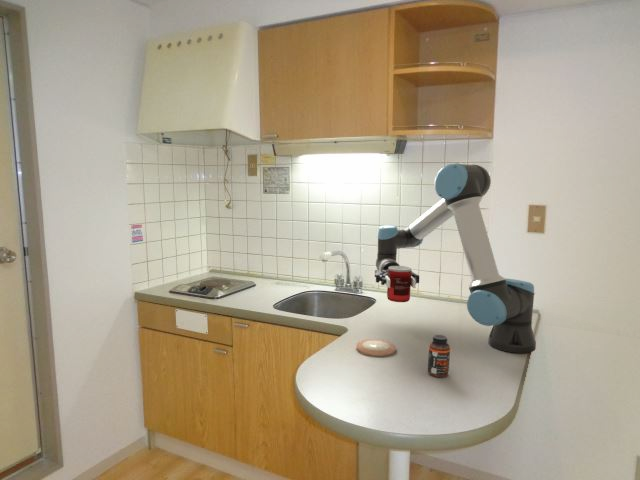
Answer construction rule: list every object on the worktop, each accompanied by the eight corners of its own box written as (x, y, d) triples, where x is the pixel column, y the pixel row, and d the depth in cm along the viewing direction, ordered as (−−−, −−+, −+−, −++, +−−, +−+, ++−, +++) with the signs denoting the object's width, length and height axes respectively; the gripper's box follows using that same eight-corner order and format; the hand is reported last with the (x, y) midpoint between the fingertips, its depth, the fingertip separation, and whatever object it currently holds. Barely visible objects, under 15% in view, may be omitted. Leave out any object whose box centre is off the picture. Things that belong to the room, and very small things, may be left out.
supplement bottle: (436, 379, 132) (438, 341, 131) (423, 371, 138) (425, 334, 136) (452, 376, 135) (454, 338, 134) (439, 368, 140) (441, 332, 139)
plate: (403, 351, 154) (403, 347, 154) (372, 359, 147) (373, 355, 147) (378, 340, 165) (378, 336, 164) (348, 346, 158) (348, 342, 158)
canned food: (396, 295, 164) (397, 264, 163) (414, 300, 159) (416, 268, 157) (382, 298, 159) (383, 267, 158) (400, 303, 153) (402, 271, 152)
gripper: (417, 280, 176) (432, 295, 154) (363, 279, 176) (370, 294, 153) (418, 260, 175) (433, 273, 153) (363, 260, 175) (371, 272, 152)
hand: (401, 284), depth 153 cm, fingers closed on canned food, 8 cm apart
